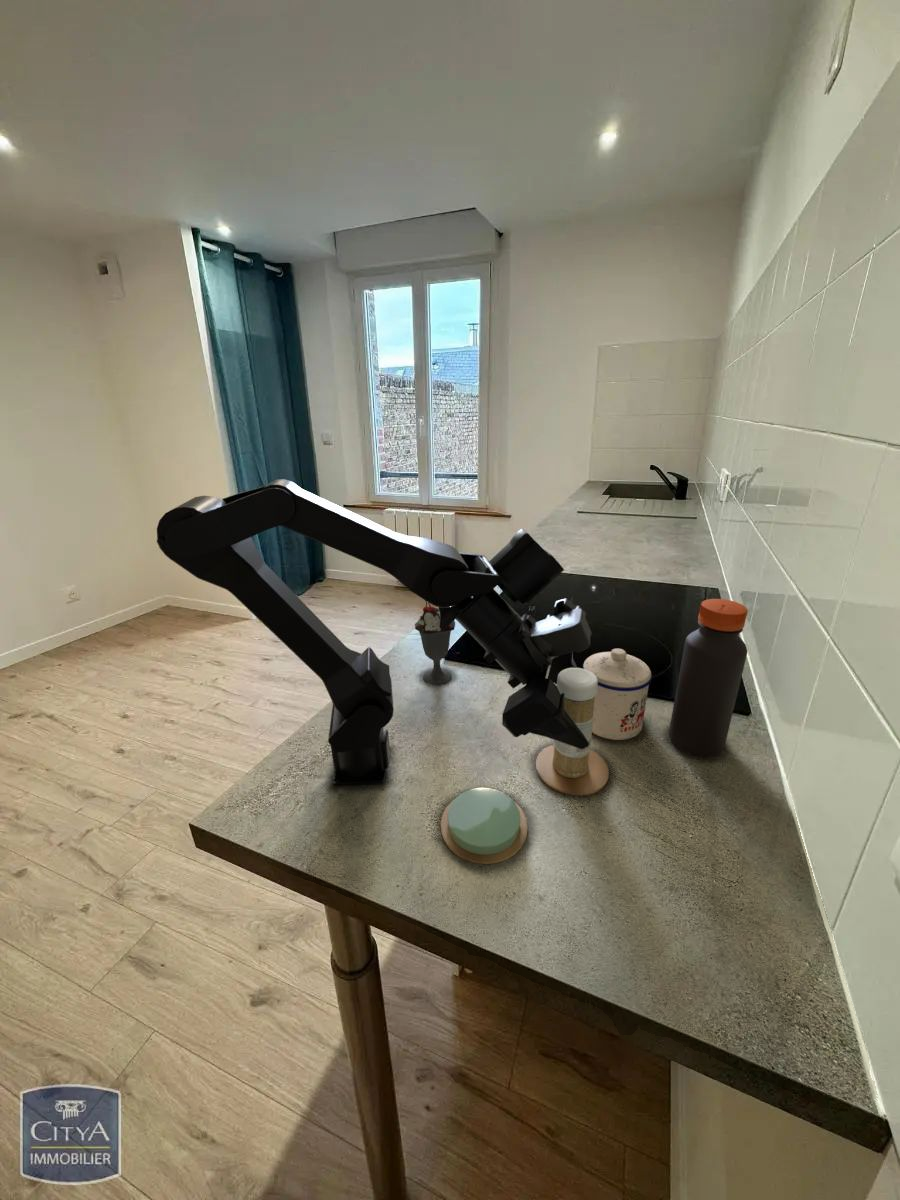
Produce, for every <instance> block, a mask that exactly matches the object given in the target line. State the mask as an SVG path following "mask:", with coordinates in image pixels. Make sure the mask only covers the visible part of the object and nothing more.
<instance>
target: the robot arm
mask: <svg viewBox="0 0 900 1200" xmlns="http://www.w3.org/2000/svg"><path fill="white" fill-rule="evenodd" d="M157 523H158V524H157V526H156V543H157V545H158V547H159V550H161V552H162V553H163V555H165V557H167V558H168V559H169V560H170V561H172V562H173V563H175V564H176V565H177V566H179V567H181V568H182V569H184V570H185V571H186V572H187V573H189V574H191V575H192V576H193V577H195V578H196V579H198V580H200V581H202V582H203V581H204V582H205V583H209V584H212V585H214V586H216V587H219V588H221V589H224V590H226V591H228V592H229V593H230V594H231V595H232V596H233V597H235V598H236V599H237V600H238V601H239V602H240V603H241V604H242V605H243V606H244V607H245V608H246V609H247V610H248V611H249V612H250V613H252V615H254V616H255V618H257V619H258V620H259V621H260V622H261V624H263V625H264V626H265V627H266V628H267V629H268V630H269V631H270V632H271V633H273V635H275V637H277V638H278V640H280V641H281V643H283V645H284V646H286V647H287V648H288V649H289V650H290V651H291V652H292V653H293V654H294V655H295V656H296V657H297V658H298V659H299V660H300V661H301V662H302V663H304V664H305V665H306V666H307V667H308V668H309V669H310V670H311V672H313V673H314V674H315V675H316V676H318V678H320V680H321V681H322V683H323V685H324V688H325V689H326V691H327V693H328V696H329V698H330V700H331V703H332V706H331V715H330V723H329V730H328V738H327V741H328V744H329V746H330V752H331V758H332V764H333V770H334V771H333V774H332V778H331V785H332V786H334V787H336V786H337V787H338V786H340V787H341V786H357V785H360V786H361V785H376V784H377V785H379V784H383V783H384V782H385V778H386V771H387V770H388V769H389V768H390V761H391V747H390V736H389V731H388V730H387V729H384V728H385V727H386V726H387V725H388V724H389V723H390V722H391V720H392V718H393V717H394V710H395V709H394V695H393V682H392V677H391V671H390V665H389V664H387V663H386V662H383V661H382V660H381V659H380V658H379V657H378V656H377V655H376V653H375V651H374V650H373V649H372V648H371V647H370V646H367V648H365V649H364V650H363V652H362V653H360V652H358V651H355V650H353V649H351V648H349V647H348V646H346V645H345V644H344V643H343V642H342V640H340V639H339V638H338V637H337V635H335V633H334V632H333V631H332V630H331V629H330V628H329V627H328V626H326V624H325V623H324V622H323V621H322V620H321V619H320V618H319V617H318V616H317V615H316V614H315V613H314V612H313V611H312V610H311V609H310V608H309V607H308V606H307V605H306V604H305V603H304V602H303V601H302V599H300V598H299V597H298V595H297V594H295V592H294V591H293V590H292V589H291V587H289V586H288V585H287V584H286V583H285V582H284V581H283V580H282V579H281V578H280V577H279V575H277V574H276V573H275V572H274V571H273V570H272V569H271V568H270V567H269V565H267V564H266V563H265V561H264V559H263V558H262V557H261V554H260V553H259V550H258V548H257V546H256V544H255V542H254V539H253V537H254V536H256V535H259V534H261V533H264V532H265V531H268V530H270V529H274V528H276V527H283V528H285V529H288V530H291V531H292V532H295V533H297V534H300V535H301V536H304V537H306V538H309V539H311V540H313V541H316V542H318V543H320V544H323V545H324V546H328V547H330V548H332V549H334V550H337V551H338V552H341V553H343V554H346V555H347V556H351V557H353V558H355V559H357V560H360V561H361V562H364V563H366V564H369V565H371V566H373V567H376V568H378V569H380V570H383V571H384V572H386V573H388V574H389V575H390V576H392V577H393V578H395V579H396V580H397V581H398V582H399V583H400V584H402V585H403V586H404V587H405V588H406V589H407V590H409V591H410V592H412V593H413V594H415V595H416V596H418V597H420V598H421V599H423V600H424V601H425V600H426V601H427V603H428V602H429V604H430V605H431V606H433V607H435V608H438V609H439V611H440V625H439V627H440V629H442V630H443V629H445V628H446V627H447V626H449V625H450V624H451V623H452V622H453V621H455V620H456V622H458V624H460V625H461V627H462V628H463V629H464V630H465V631H466V632H467V633H468V634H469V635H470V636H471V637H472V638H473V639H474V640H475V641H476V642H477V643H478V644H479V645H480V646H481V648H483V649H484V650H485V654H484V656H483V659H484V660H485V661H486V662H487V664H489V665H490V664H491V663H493V662H494V661H496V662H497V663H498V665H500V667H501V668H502V669H503V670H504V671H505V672H506V673H507V674H508V675H509V678H508V680H507V684H508V685H509V686H510V687H511V688H512V689H515V688H516V687H518V686H519V685H521V684H522V685H523V686H522V687H521V688H519V689H518V690H517V691H515V692H514V693H512V694H511V695H509V696H508V697H507V700H506V703H505V706H504V709H503V712H502V715H501V716H502V717H501V718H502V719H501V721H502V722H501V725H502V726H503V727H504V728H505V730H507V731H508V732H509V733H510V734H511V735H512V736H513V737H514V738H519V737H521V736H526V735H528V734H532V735H536V736H541V737H544V738H548V739H551V740H553V741H554V740H557V741H560V742H562V743H565V744H568V745H571V746H574V747H577V748H579V749H584V748H586V747H588V746H589V742H588V741H587V739H586V738H585V736H584V735H583V733H582V732H581V731H580V729H579V728H578V727H577V725H576V724H575V723H574V722H573V720H572V719H571V718H570V716H569V715H568V714H567V713H566V711H565V710H564V697H565V694H564V693H562V694H560V692H559V690H558V688H557V677H558V674H559V673H560V672H561V671H562V670H564V669H567V668H578V666H577V664H576V661H575V660H574V652H576V653H580V652H584V651H586V650H587V649H589V648H590V647H591V636H592V635H593V633H592V630H591V628H590V626H589V623H588V621H587V618H586V617H587V612H586V611H585V610H584V609H582V608H581V606H580V605H575V603H573V602H572V601H571V600H570V599H568V598H567V597H565V598H562V599H559V600H556V601H555V602H554V606H553V611H552V614H548V615H546V618H544V619H542V620H538V621H537V620H536V619H535V618H534V617H533V616H532V615H531V614H527V613H524V614H523V615H522V616H521V615H520V614H519V613H517V612H516V611H515V609H514V608H513V607H512V606H511V605H510V604H509V603H508V602H507V601H506V600H505V599H504V598H503V596H501V595H500V594H499V593H498V592H497V590H496V589H495V588H496V587H498V589H500V590H501V591H502V592H503V593H504V594H505V595H506V596H507V598H509V599H510V601H511V602H513V603H514V604H516V603H517V602H518V601H519V602H520V604H522V605H524V606H525V604H526V603H528V604H529V603H530V602H531V601H532V600H533V599H535V597H536V596H538V595H539V594H540V593H541V592H542V591H543V590H544V589H545V588H547V586H548V585H550V584H551V583H552V582H553V581H554V580H555V579H556V578H557V577H559V576H560V575H561V574H562V573H563V572H564V571H565V569H564V567H563V566H562V565H561V564H560V562H559V561H558V560H557V559H556V558H555V557H554V555H552V554H551V553H550V552H549V551H548V550H546V549H545V548H544V547H543V546H541V545H540V544H539V543H538V542H537V541H536V540H535V539H534V538H533V537H532V536H531V534H529V532H527V530H525V529H524V528H520V529H519V530H518V531H516V533H515V534H514V535H513V536H512V537H511V539H510V540H509V542H508V543H507V544H506V545H505V546H504V547H503V548H501V550H499V551H498V553H496V554H495V555H494V556H493V557H492V558H491V559H490V560H489V559H488V558H487V556H486V555H484V554H477V553H470V552H469V553H468V552H460V551H458V549H457V548H455V547H454V546H453V545H451V544H448V543H445V542H441V541H438V540H434V539H430V538H426V537H424V536H423V537H422V536H416V535H415V536H413V535H407V534H403V533H399V532H397V531H394V530H392V529H390V528H387V527H385V526H383V525H381V524H379V523H377V522H374V521H372V520H371V519H368V518H366V517H363V516H361V515H359V514H358V513H355V512H353V511H351V510H348V509H346V508H344V507H342V506H341V505H340V506H339V505H338V504H335V503H334V502H332V501H329V500H327V499H325V498H323V497H320V496H319V495H316V494H314V493H312V492H310V491H307V490H305V489H303V488H301V487H300V486H299V485H297V483H295V482H293V481H291V480H288V479H285V478H279V479H275V480H272V481H271V482H269V483H268V484H266V485H263V486H260V487H256V488H253V489H248V490H245V491H242V492H237V493H235V494H233V495H230V496H227V497H223V498H220V497H217V496H211V495H199V496H194V497H192V498H191V499H189V500H187V501H185V502H184V503H181V504H179V505H177V506H176V507H174V508H172V509H170V510H169V511H167V512H165V513H164V514H163V516H162V517H161V518H160V519H159V521H158V522H157ZM426 601H425V602H426Z"/></svg>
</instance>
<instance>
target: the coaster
mask: <svg viewBox="0 0 900 1200" xmlns="http://www.w3.org/2000/svg"><path fill="white" fill-rule="evenodd" d="M553 757H554V744H551V745H548V746H546V747H545V748H543V749H542V750H541V751H540V752H539V753H538V754H537V757H536V759H535V769H536V772H537V773H536V774H538V776H539V778H540V779H541V781H542V782H543V783H544V784H546V785H547V786H548V787H550V788H551V789H552V790H555V791H557V792H560V793H562V794H565V795H569V796H570V795H571V796H589V795H593V794H595V793H598V792H599V791H601V790H602V789H603V788H604V787H605V786H606V785H607V783H608V781H609V776H610V771H609V767H608V765H607V763H606V761H605V760H604V759H603V758H602V756H601V755H600V754H598V753H597V752H596V751H594V750H593V749H591V748H590V751H589V758H588V765H589V768H588V771H587V773H586V774H585V775H583V776H581V777H578V778H569V777H565V776H563V775H561V774H559V773H558V772H557V771H556V770H555V769H554V767H553V763H552V761H553Z"/></svg>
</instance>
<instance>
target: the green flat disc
mask: <svg viewBox="0 0 900 1200" xmlns="http://www.w3.org/2000/svg"><path fill="white" fill-rule="evenodd" d="M452 801H453V802H452ZM452 801H451V802H452V803H451V802H450V803H451V805H450V807H449V810H448V829H449V833H450V835H451V837H452V838H453V840H454V841H455V842H456V843H457V844H458V845H459V846H460V847H462V848H463V849H465V850H467V851H469V852H472V853H475V854H481V855H490V854H496V853H499V852H502V851H504V850H506V849H507V848H509V847H510V846H511V845H512V844H513V843H514V842H515V840H516V839H517V837H518V835H519V831H520V812H519V809H518V807H517V805H516V804H515V803H516V801H515V800H514V799H513V798H512V797H510V796H509V795H508V794H506V793H504V792H503V791H500V790H497V789H495V788H490V787H476V788H475V787H474V788H471V789H467V790H466V791H464V792H461V793H459V794H458V795H457V796H456V797H455V798H454V799H453V800H452Z"/></svg>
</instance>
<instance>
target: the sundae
mask: <svg viewBox="0 0 900 1200" xmlns="http://www.w3.org/2000/svg"><path fill="white" fill-rule="evenodd" d="M424 601H425V606H424V607H423V608H422V612H423V613H422V614H421V615H420V616H419V619H418V620H417V621H416V622H415V623H414V629H415V630H416V631H418V633H419V635H420V639H421V640H420V641H421V644H422V649H423V652H424V655H425V656H426V657H427V658H428V659H430V660H431V661H433V666H432V668H431V669H428V670H427V671H425V672H424V673H423V675H422V679H423V681H424V682H426V683H427V684H430V685H443V684H446V683H448V682H449V681H450V680H451V679H452V677H453V674H452V673H451V671H449V670H448V669H445V668H442V667H441V660H443V659H444V658H445V657H446V656H447V655H448V654H449V648H450V641H451V634H452V633H451V632H452V631H454V630H455V628H456V621H455V620H454V621H453V622H452V623H451V624H450V625H449V626H447V627H446V628H445V629H443V630H442V629H440V627H439V625H440V611H439V607H435V606H434V605H432V604H430V603H429V602H427V601H426V600H424Z"/></svg>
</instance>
